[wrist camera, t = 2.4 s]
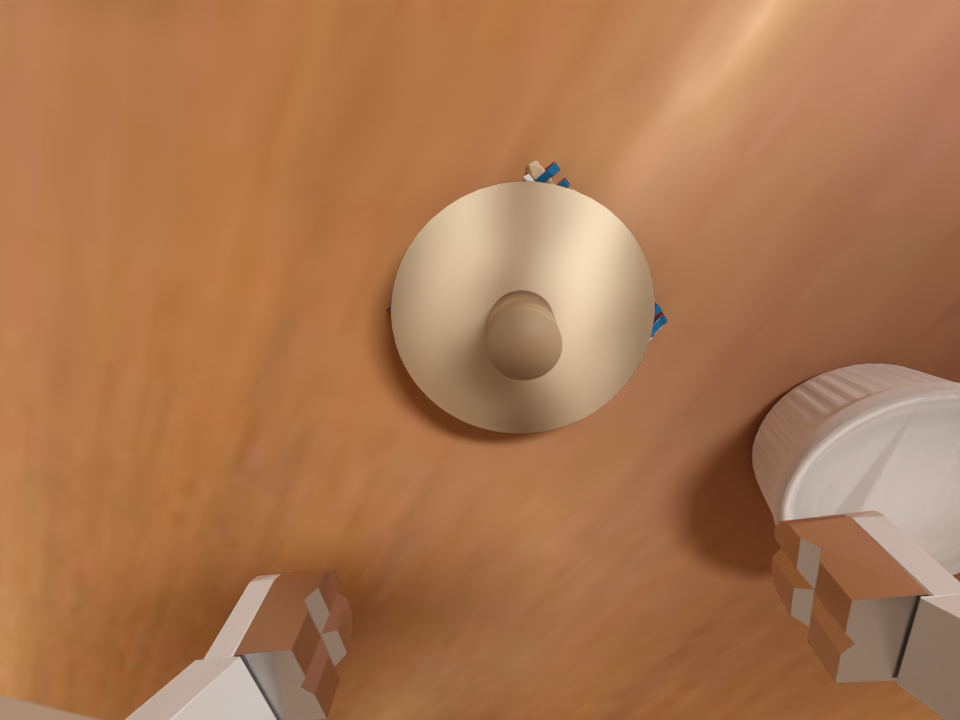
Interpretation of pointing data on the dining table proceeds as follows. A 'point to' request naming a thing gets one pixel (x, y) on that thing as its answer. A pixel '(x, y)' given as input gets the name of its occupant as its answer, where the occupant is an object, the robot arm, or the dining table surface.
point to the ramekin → (868, 452)
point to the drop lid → (522, 307)
